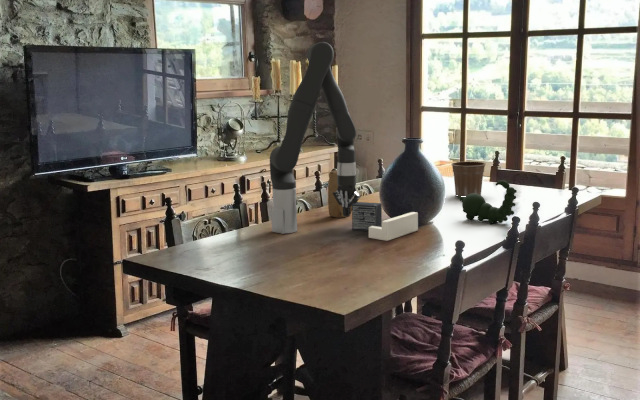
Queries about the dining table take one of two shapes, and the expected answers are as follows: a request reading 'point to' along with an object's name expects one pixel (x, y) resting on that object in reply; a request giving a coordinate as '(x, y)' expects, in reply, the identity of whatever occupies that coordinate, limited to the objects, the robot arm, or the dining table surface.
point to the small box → (366, 215)
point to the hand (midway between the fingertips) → (346, 216)
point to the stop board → (395, 227)
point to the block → (333, 205)
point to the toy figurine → (489, 206)
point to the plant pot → (468, 177)
